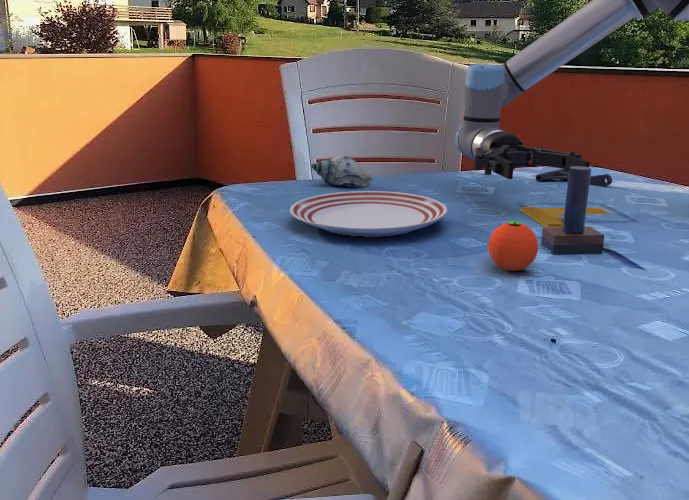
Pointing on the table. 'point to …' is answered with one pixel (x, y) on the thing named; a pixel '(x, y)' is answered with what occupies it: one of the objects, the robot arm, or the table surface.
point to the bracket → (564, 175)
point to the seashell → (342, 172)
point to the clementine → (513, 246)
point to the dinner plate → (369, 212)
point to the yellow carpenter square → (553, 215)
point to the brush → (574, 220)
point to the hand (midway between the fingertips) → (549, 170)
